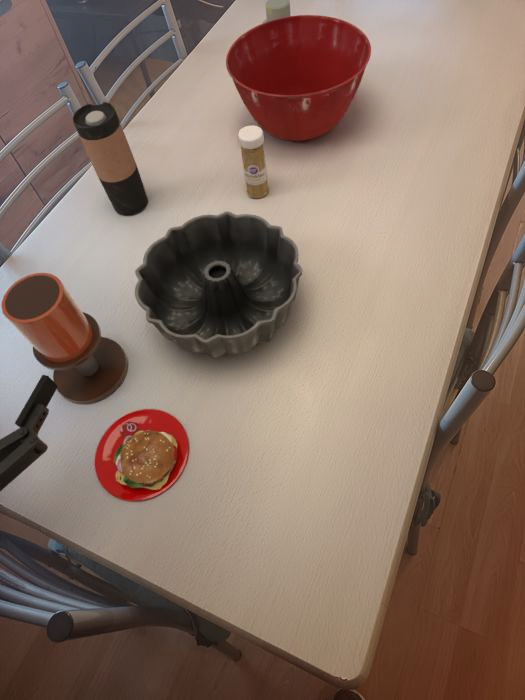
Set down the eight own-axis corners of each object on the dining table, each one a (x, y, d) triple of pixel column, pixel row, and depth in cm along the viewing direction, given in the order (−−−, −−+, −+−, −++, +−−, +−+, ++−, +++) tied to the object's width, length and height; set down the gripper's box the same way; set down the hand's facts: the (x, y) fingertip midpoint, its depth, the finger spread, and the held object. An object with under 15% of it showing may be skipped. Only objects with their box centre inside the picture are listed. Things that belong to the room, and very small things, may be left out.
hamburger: (198, 415, 76) (190, 398, 71) (175, 508, 69) (164, 496, 64) (113, 405, 78) (98, 388, 73) (82, 494, 71) (63, 481, 66)
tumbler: (28, 356, 72) (-11, 316, 64) (55, 311, 76) (21, 268, 68) (77, 367, 71) (43, 327, 62) (102, 320, 74) (74, 277, 66)
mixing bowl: (385, 145, 104) (394, 71, 91) (253, 178, 103) (243, 108, 90) (340, 74, 119) (343, 2, 106) (225, 102, 118) (213, 33, 105)
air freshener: (268, 58, 126) (264, 15, 117) (254, 44, 130) (250, 1, 121) (306, 45, 127) (305, 1, 119) (292, 31, 132) (290, -12, 123)
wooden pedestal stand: (43, 395, 80) (10, 364, 72) (77, 334, 86) (50, 299, 78) (108, 411, 78) (82, 381, 69) (139, 347, 83) (118, 312, 75)
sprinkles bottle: (248, 201, 99) (239, 142, 88) (245, 186, 102) (235, 127, 90) (271, 196, 99) (265, 137, 88) (267, 181, 102) (260, 122, 90)
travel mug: (128, 222, 100) (89, 133, 83) (105, 206, 103) (63, 117, 86) (157, 201, 102) (124, 110, 85) (133, 186, 105) (97, 95, 88)
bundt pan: (202, 234, 96) (190, 193, 87) (328, 276, 87) (329, 235, 79) (122, 340, 85) (100, 305, 76) (258, 399, 76) (250, 367, 68)
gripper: (-27, 570, 46) (78, 375, 56) (-223, 500, 52) (-96, 334, 62) (15, 581, 53) (102, 403, 63) (-164, 517, 58) (-57, 364, 69)
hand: (4, 369), depth 62 cm, fingers open, 13 cm apart
